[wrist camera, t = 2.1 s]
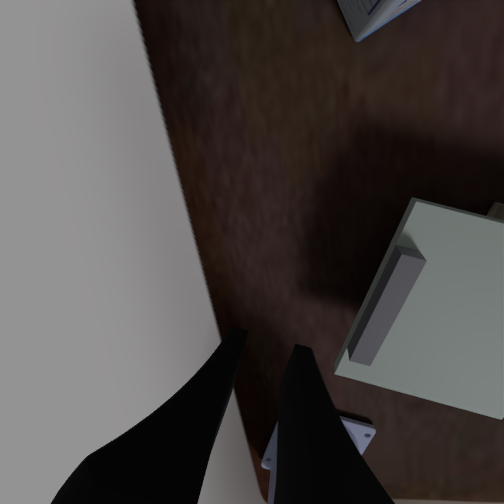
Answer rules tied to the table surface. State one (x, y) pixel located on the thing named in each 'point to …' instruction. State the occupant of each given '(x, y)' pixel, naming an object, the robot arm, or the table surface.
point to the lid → (435, 312)
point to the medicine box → (371, 14)
